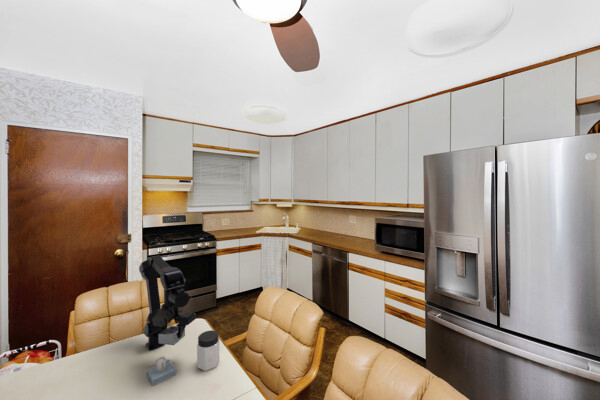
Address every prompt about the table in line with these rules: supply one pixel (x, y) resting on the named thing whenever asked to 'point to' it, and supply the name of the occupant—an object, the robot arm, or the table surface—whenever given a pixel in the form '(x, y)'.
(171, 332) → the collar
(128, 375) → the table surface
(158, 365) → the shaft block
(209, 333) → the jar
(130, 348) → the table surface
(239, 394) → the table surface
